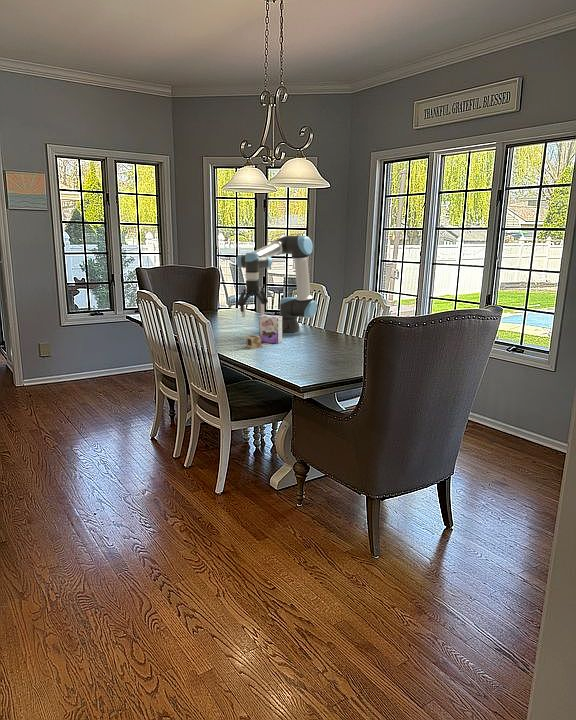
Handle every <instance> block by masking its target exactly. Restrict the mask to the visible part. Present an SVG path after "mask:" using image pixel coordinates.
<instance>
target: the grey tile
mask: <svg viewBox="0 0 576 720" xmlns="http://www.w3.org/2000/svg"><path fill="white" fill-rule="evenodd" d="M261 346H262V347H261V348H266V347H272V346H273V343H267V342H262V343H261Z"/></svg>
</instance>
